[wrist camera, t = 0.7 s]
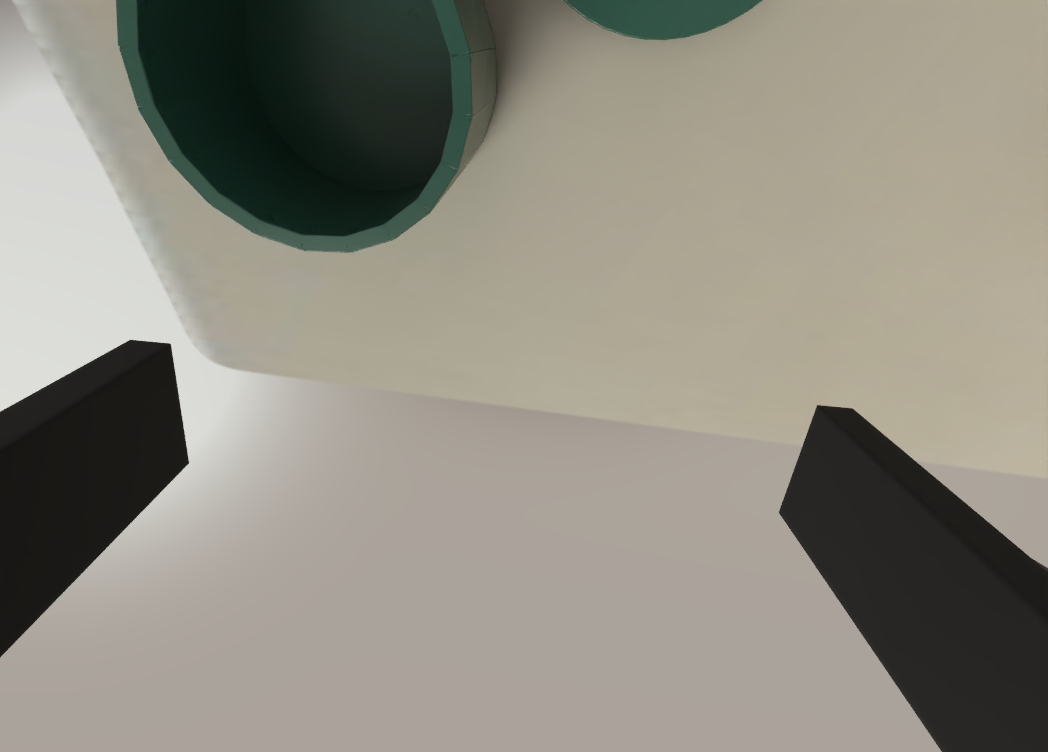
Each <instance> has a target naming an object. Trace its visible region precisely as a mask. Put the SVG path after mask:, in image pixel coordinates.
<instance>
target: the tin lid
mask: <svg viewBox="0 0 1048 752" xmlns="http://www.w3.org/2000/svg"><path fill="white" fill-rule="evenodd" d="M564 1H565V2H566V3H567V4H568V5H569V6H570V7H571V8H573V9H574V10H575V11H577V12H578V13H579V14H581V15H582V16H583V17H585V18H586V19H588V20H589V21H591V22H593V23H595V24H597V25H599V26H601V27H602V28H604V29H607V30H610V31H612V32H615V33H618V34H621V35H624V36H629V37H634V38H640V39H652V40H668V39H676V38H685V37H689V36H692V35H696V34H700V33H704V32H707V31H709V30H712V29H714V28H717V27H719V26H721V25H724V24H726V23H728V22H730V21H732V20H733V19H735V18H737V17H739V16H740V15H742V14H744V13H746V12H747V11H749V10H750V9H751V8H753V7H754V6H755V5H757V4H758V3H759V2H761V1H762V0H564Z"/></svg>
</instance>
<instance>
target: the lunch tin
mask: <svg viewBox="0 0 1048 752" xmlns="http://www.w3.org/2000/svg"><path fill="white" fill-rule="evenodd" d="M116 8H117V31H118V46H120V52H121V55H122V58H123V62H124V65H125V68H126V71H127V74H128V78H129V81H130V84H131V87H132V90H133V94H134V97H135V100H136V103H137V106H138V107H139V108H138V110H139V111H140V113H141V115H142V116H143V118H144V120H145V122H146V123H147V125H148V127H149V128H150V130H151V132H152V133H153V135H154V137H155V138H156V140H157V142H158V144H159V145H160V147H161V149H162V150H163V152H164V154H165V155H166V157H167V159H168V160H169V161H170V163H171V164H172V165H173V166H174V167H175V168H176V169H177V170H178V171H179V172H180V174H181V175H182V176H183V177H184V178H185V179H186V180H187V181H188V182H189V183H190V184H191V185H192V186H193V187H194V188H195V189H196V190H197V192H198V193H199V194H200V195H201V196H202V197H203V198H204V199H205V200H206V201H207V202H208V203H209V204H211V205H212V206H213V207H214V208H216V209H218V210H219V211H221V212H222V213H224V214H225V215H227V216H228V217H230V218H231V219H233V220H234V221H236V222H237V223H239V224H240V225H242V226H243V227H245V228H246V229H248V230H250V231H251V232H253V233H254V234H257V235H259V236H262V237H265V238H268V239H271V240H274V241H276V242H279V243H282V244H285V245H288V246H291V247H294V248H297V249H300V250H304V251H320V252H346V253H350V252H354V251H358V250H361V249H365V248H368V247H371V246H375V245H378V244H381V243H385V242H388V241H392V240H393V239H396V238H397V237H398V236H400V235H401V234H402V233H404V232H405V231H406V230H408V229H409V228H410V227H412V226H413V225H414V224H416V223H417V222H418V221H420V220H421V219H422V218H424V217H425V216H426V215H428V214H429V213H430V212H431V211H432V210H433V209H434V207H435V206H436V205H437V203H438V202H439V201H440V200H441V198H442V197H443V196H444V194H445V193H446V192H447V191H448V189H449V188H450V187H451V185H452V184H453V183H454V182H455V180H456V179H457V178H458V176H459V175H460V174H461V173H462V171H463V170H464V168H465V167H466V165H467V164H468V162H469V161H470V159H471V158H472V156H473V155H474V153H475V152H476V150H477V149H478V147H479V146H480V144H481V143H482V141H483V140H484V138H485V135H486V131H487V127H488V125H489V122H490V119H491V115H492V111H493V107H494V103H495V99H496V86H497V60H496V48H495V43H494V39H493V34H492V30H491V25H490V22H489V19H488V16H487V13H486V10H485V7H484V5H483V1H482V0H116Z"/></svg>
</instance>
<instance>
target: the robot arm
mask: <svg viewBox="0 0 1048 752" xmlns="http://www.w3.org/2000/svg"><path fill="white" fill-rule="evenodd" d="M188 464H189V461H188V455H187V447H186V441H185V435H184V428H183V421H182V416H181V408H180V402H179V395H178V389H177V383H176V376H175V369H174V363H173V356H172V349H171V344H168V343H157V342H146V341H136V340H129V341H127V342H126V343H124V344H122V345H120V346H118V347H117V348H115V349H113V350H111V351H110V352H108V353H106V354H104V355H102V356H100V357H99V358H97V359H95V360H93V361H91V362H89V363H88V364H86V365H84V366H83V367H80V368H79V369H77V370H75V371H73V372H72V373H70V374H68V375H66V376H65V377H62V378H61V379H59V380H57V381H55V382H53V383H51V384H50V385H48V386H46V387H44V388H42V389H41V390H39V391H37V392H35V393H33V394H32V395H30V396H28V397H26V398H24V399H23V400H21V401H19V402H17V403H16V404H14V405H12V406H10V407H8V408H6V409H4V410H3V411H1V412H0V657H1V656H2V655H3V654H4V653H5V652H6V651H7V650H8V648H10V647H11V646H12V645H13V644H14V643H15V641H16V640H17V639H18V638H19V637H20V636H21V635H22V634H23V633H24V632H25V631H26V630H27V629H28V628H29V627H30V626H31V625H32V624H33V623H34V622H35V621H36V620H37V619H38V618H39V617H40V616H41V615H42V614H43V613H44V612H45V611H46V610H47V609H48V608H49V606H50V605H51V604H52V603H53V602H54V601H55V600H56V599H57V598H58V597H59V596H60V595H61V594H62V593H63V592H64V591H65V590H66V589H67V588H68V587H69V586H70V585H71V584H72V583H73V582H74V581H75V580H76V579H77V578H78V577H79V576H80V575H81V573H83V572H84V571H85V569H86V568H87V567H88V566H89V565H90V564H91V563H92V562H93V561H94V560H95V559H96V558H97V557H98V556H99V555H100V554H101V553H102V552H103V551H104V550H105V549H106V547H108V546H109V545H110V543H112V542H113V541H114V540H115V538H117V536H118V535H119V534H120V533H121V532H122V531H123V530H124V529H125V528H126V527H127V526H128V525H129V524H130V523H131V522H132V521H133V520H134V519H135V518H136V517H137V516H138V515H139V514H140V513H141V512H142V511H143V510H144V509H145V508H146V507H147V506H148V505H149V503H151V502H152V501H153V499H154V498H155V497H156V496H157V495H158V494H159V493H160V492H161V491H162V490H163V489H164V488H165V487H166V486H167V485H168V484H169V483H170V482H171V481H172V480H173V479H174V478H175V477H176V476H177V475H178V474H179V473H180V472H181V471H182V470H183V468H185V466H186V465H188ZM779 513H780V515H781V516H782V518H783V519H784V521H785V522H786V523H787V525H788V527H789V528H790V529H791V531H792V532H793V534H794V535H795V537H796V538H797V540H798V541H799V543H800V544H801V546H802V547H803V549H804V550H805V551H806V553H807V554H808V556H809V557H810V559H811V560H812V562H813V563H814V565H815V566H816V568H817V569H818V570H819V572H820V573H821V575H822V576H823V578H824V579H825V581H826V582H827V584H828V585H829V587H830V588H831V590H832V591H833V592H834V594H835V595H836V597H837V598H838V600H839V601H840V603H841V604H842V606H843V607H844V609H845V610H846V611H847V613H848V615H849V616H850V618H851V619H852V620H853V622H854V623H855V625H856V626H857V628H858V629H859V631H860V632H861V634H862V635H863V636H864V638H865V639H866V641H867V642H868V644H869V645H870V647H871V648H872V650H873V651H874V653H875V654H876V656H877V657H878V658H879V660H880V662H881V663H882V664H883V666H884V667H885V669H886V670H887V672H888V673H889V675H890V676H891V678H892V679H893V681H894V682H895V684H896V685H897V686H898V688H899V689H900V691H901V692H902V694H903V695H904V697H905V698H906V700H907V701H908V702H909V704H910V705H911V707H912V708H913V710H914V711H915V713H916V714H917V716H918V717H919V718H920V720H921V721H922V723H923V724H924V726H925V728H926V729H927V730H928V732H929V733H930V735H931V736H932V738H933V739H934V741H935V742H936V744H937V745H938V747H939V748H940V750H941V751H942V752H1048V568H1046V567H1045V566H1043V565H1041V564H1040V563H1038V562H1036V561H1035V560H1033V559H1031V558H1030V557H1029V556H1028V555H1027V554H1025V553H1024V552H1023V551H1022V550H1021V549H1020V548H1018V547H1017V546H1016V545H1015V544H1014V543H1012V542H1011V541H1010V540H1009V539H1007V538H1006V537H1005V536H1004V535H1003V534H1001V533H1000V532H999V531H998V530H997V529H996V528H994V527H993V526H992V525H991V524H990V523H988V522H987V521H986V520H985V519H984V518H983V517H981V516H980V515H979V514H978V513H977V512H975V511H974V510H973V509H972V508H971V507H969V506H968V505H967V504H966V503H965V502H963V501H962V500H961V499H960V498H958V497H957V496H956V495H955V494H954V493H953V492H951V491H950V490H949V489H948V488H947V487H946V486H944V485H943V484H942V483H941V482H940V481H938V480H937V479H936V478H935V477H934V476H932V475H931V474H930V473H929V472H928V471H926V470H925V469H924V468H923V467H922V466H920V465H919V464H918V463H917V462H916V461H914V460H913V459H912V458H911V457H910V456H909V455H907V454H906V453H905V452H904V451H903V450H901V449H900V448H899V447H898V446H897V445H895V444H894V443H893V442H892V441H891V440H889V439H888V438H887V437H886V436H885V435H883V434H882V433H881V432H880V431H879V430H877V429H876V428H875V427H874V426H873V425H871V424H870V423H869V422H868V421H867V420H866V419H864V418H863V417H862V416H861V415H860V414H858V413H857V412H856V411H855V410H854V409H851V408H841V407H830V406H820V405H817V408H816V410H815V413H814V416H813V419H812V421H811V424H810V427H809V430H808V433H807V435H806V438H805V441H804V444H803V447H802V449H801V452H800V456H799V458H798V461H797V464H796V466H795V469H794V472H793V474H792V477H791V480H790V483H789V486H788V488H787V491H786V494H785V497H784V500H783V502H782V505H781V508H780V511H779Z"/></svg>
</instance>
